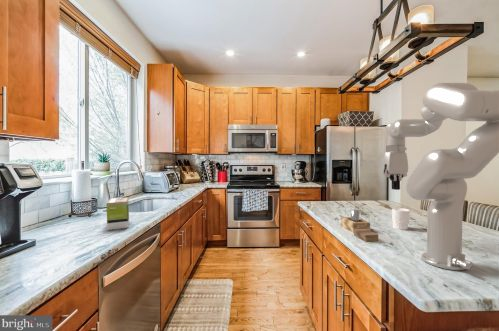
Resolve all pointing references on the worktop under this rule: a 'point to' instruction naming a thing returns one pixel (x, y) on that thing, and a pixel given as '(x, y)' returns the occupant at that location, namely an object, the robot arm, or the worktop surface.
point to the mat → (383, 239)
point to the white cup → (400, 218)
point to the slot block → (354, 224)
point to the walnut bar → (366, 235)
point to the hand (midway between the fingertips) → (395, 189)
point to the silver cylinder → (355, 215)
